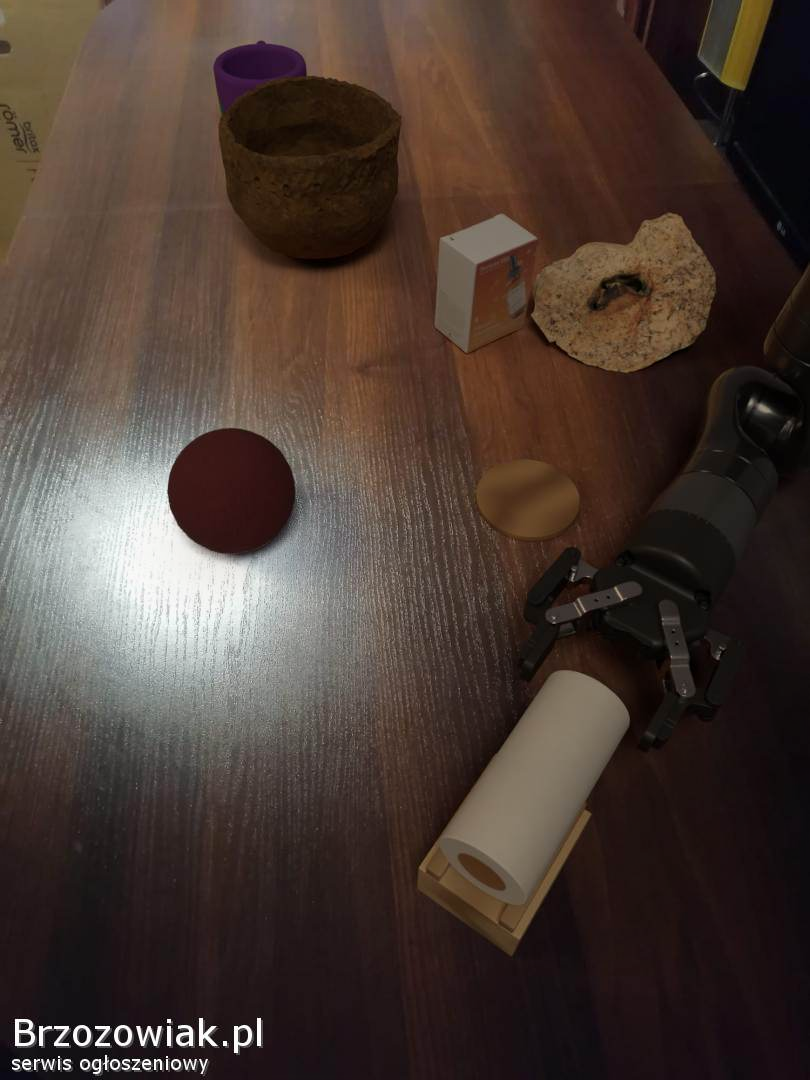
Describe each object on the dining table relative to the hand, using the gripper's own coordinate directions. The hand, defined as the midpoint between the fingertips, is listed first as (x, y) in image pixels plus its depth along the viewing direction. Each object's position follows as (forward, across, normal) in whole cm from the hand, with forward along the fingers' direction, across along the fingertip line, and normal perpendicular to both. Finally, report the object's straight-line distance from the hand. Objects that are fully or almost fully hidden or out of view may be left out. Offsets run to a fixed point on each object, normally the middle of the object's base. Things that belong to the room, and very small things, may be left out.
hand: (583, 709), depth 55 cm
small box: (-37, -30, +7) cm, 48 cm away
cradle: (+9, 0, +7) cm, 11 cm away
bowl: (-39, -53, +7) cm, 66 cm away
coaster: (-19, -14, +7) cm, 25 cm away
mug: (-56, -75, +7) cm, 94 cm away
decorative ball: (-2, -32, +7) cm, 33 cm away
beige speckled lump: (-45, -18, +7) cm, 49 cm away
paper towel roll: (+6, 0, 0) cm, 6 cm away
